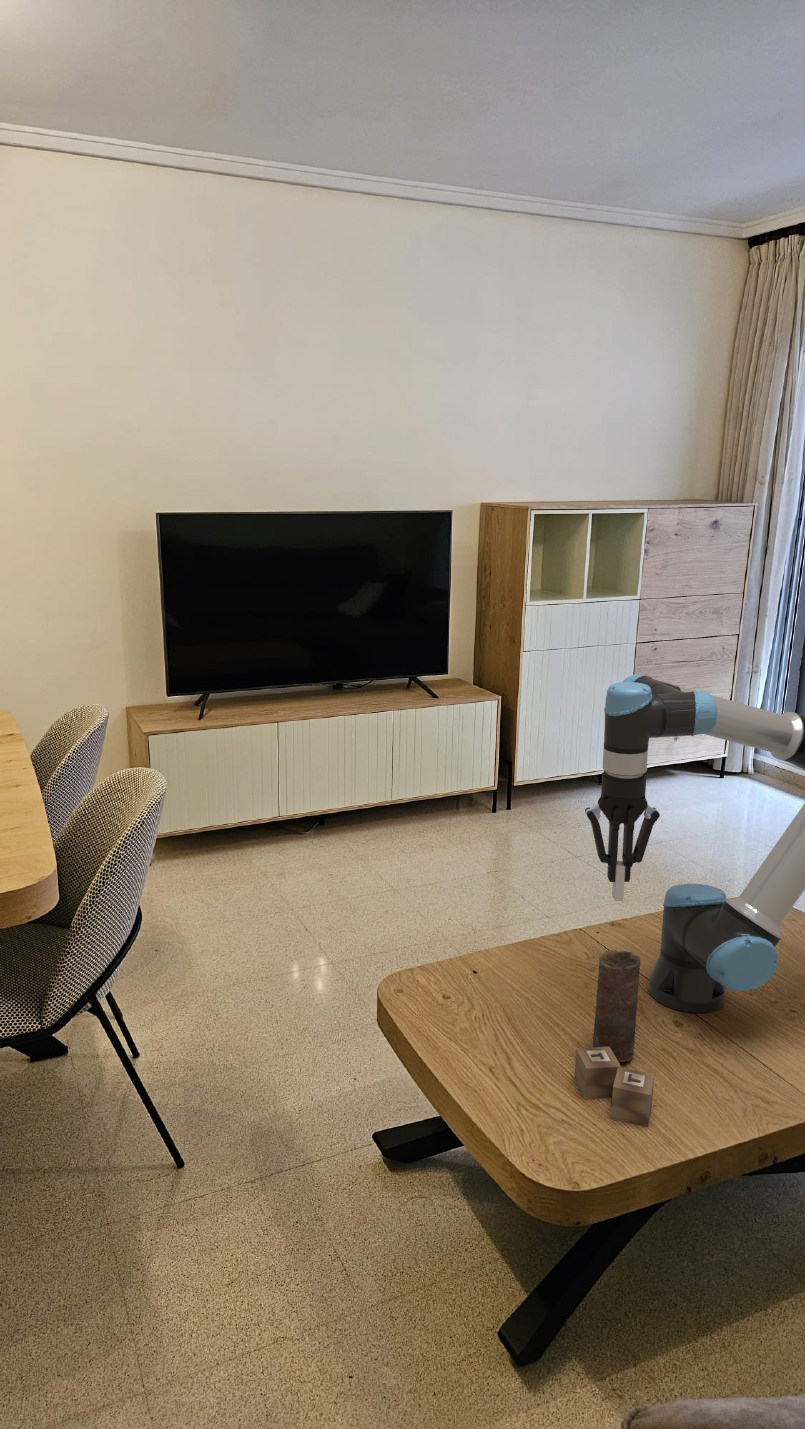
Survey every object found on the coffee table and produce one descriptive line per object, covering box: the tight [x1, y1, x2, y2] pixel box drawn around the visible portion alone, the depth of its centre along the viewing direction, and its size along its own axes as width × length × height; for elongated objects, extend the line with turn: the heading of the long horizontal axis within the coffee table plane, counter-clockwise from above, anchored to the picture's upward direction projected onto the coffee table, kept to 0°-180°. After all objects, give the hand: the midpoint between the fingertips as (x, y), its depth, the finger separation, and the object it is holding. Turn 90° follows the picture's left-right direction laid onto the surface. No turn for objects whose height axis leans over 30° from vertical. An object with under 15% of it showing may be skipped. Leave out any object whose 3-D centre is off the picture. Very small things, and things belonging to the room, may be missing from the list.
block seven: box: [610, 1066, 655, 1128], centre depth 163 cm, size 6×6×6 cm
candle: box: [592, 949, 641, 1063], centre depth 177 cm, size 8×7×20 cm
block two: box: [573, 1046, 622, 1101], centre depth 169 cm, size 6×6×6 cm
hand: (617, 897), depth 176 cm, fingers closed
